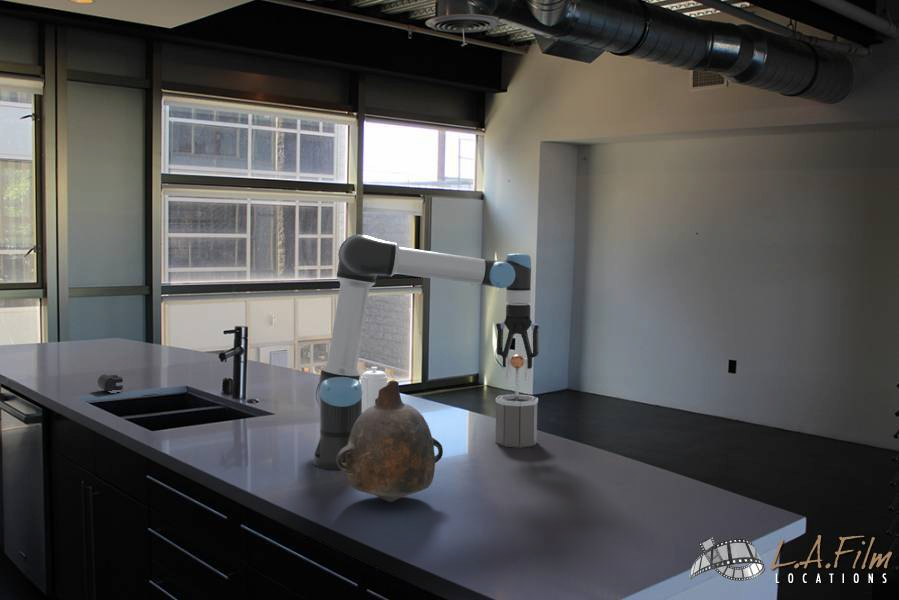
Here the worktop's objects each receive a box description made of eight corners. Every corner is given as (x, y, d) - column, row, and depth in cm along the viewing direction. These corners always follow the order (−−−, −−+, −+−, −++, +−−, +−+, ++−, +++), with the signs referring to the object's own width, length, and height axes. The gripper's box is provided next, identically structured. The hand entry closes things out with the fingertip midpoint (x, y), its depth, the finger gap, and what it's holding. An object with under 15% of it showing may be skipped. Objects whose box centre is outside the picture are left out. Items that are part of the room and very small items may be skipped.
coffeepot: (347, 427, 276) (347, 372, 274) (369, 412, 300) (369, 361, 299) (378, 429, 274) (378, 373, 272) (398, 413, 298) (398, 362, 297)
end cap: (97, 391, 337) (97, 374, 336) (115, 389, 341) (115, 373, 341) (105, 395, 329) (104, 378, 328) (123, 393, 333) (122, 376, 333)
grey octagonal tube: (531, 448, 250) (532, 403, 249) (491, 445, 254) (492, 400, 253) (542, 436, 265) (543, 393, 264) (504, 433, 269) (505, 391, 268)
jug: (392, 481, 215) (392, 367, 213) (456, 498, 202) (457, 377, 199) (321, 504, 196) (321, 379, 194) (387, 524, 183) (387, 391, 181)
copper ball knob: (526, 425, 252) (527, 357, 250) (500, 423, 255) (500, 355, 253) (532, 419, 260) (533, 353, 258) (506, 417, 263) (507, 352, 261)
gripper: (550, 303, 255) (548, 378, 257) (492, 302, 261) (491, 374, 263) (545, 305, 248) (543, 382, 250) (486, 303, 254) (485, 378, 256)
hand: (517, 378), depth 256 cm, fingers open, 5 cm apart
